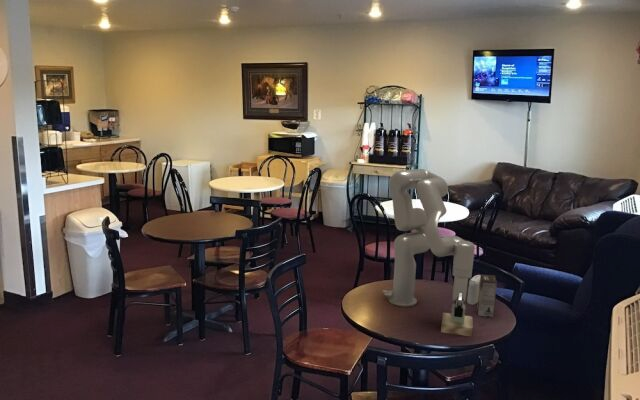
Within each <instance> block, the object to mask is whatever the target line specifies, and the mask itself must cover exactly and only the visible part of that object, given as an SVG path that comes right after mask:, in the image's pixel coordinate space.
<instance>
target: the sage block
mask: <svg viewBox="0 0 640 400" xmlns="http://www.w3.org/2000/svg"><path fill="white" fill-rule="evenodd" d="M451 304H452V305H451V313H450V314H451V322H456V323H464V318H465V316H466V314H465V313H466V304H463V315H462V317H455V316H454V311H455V307H456V304H455V302H454V303H453V302H452V303H451Z"/></svg>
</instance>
